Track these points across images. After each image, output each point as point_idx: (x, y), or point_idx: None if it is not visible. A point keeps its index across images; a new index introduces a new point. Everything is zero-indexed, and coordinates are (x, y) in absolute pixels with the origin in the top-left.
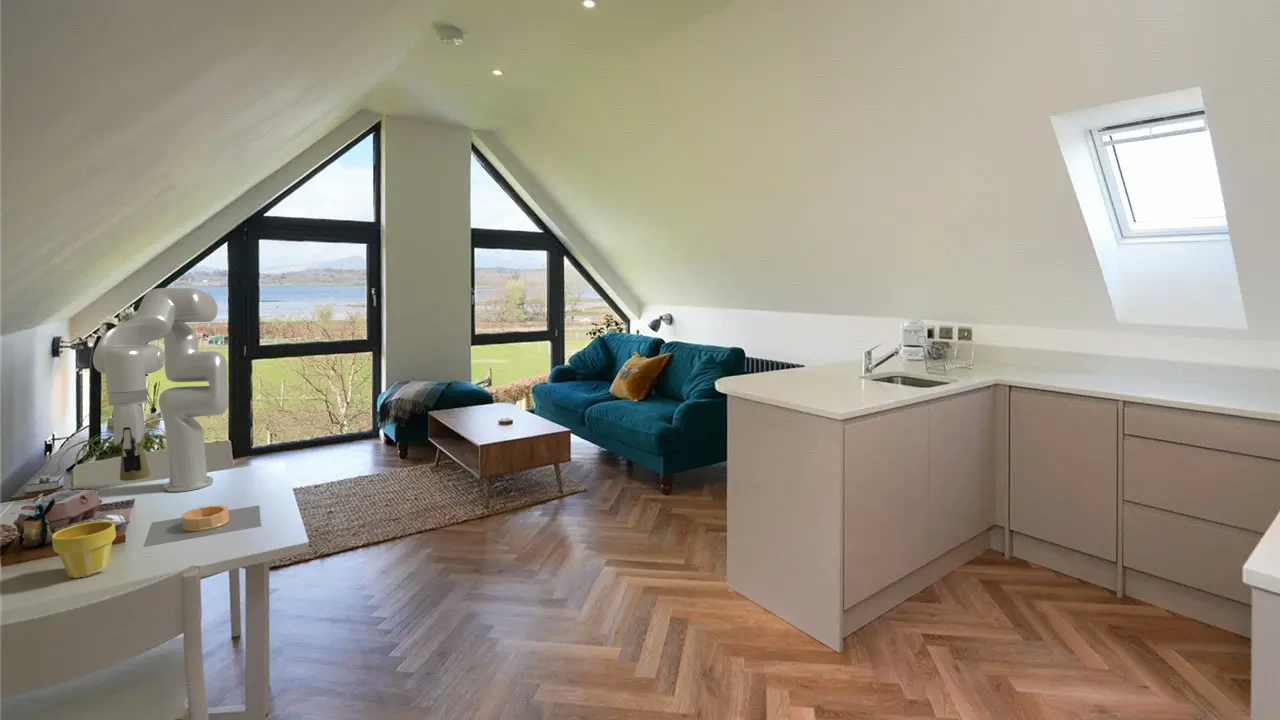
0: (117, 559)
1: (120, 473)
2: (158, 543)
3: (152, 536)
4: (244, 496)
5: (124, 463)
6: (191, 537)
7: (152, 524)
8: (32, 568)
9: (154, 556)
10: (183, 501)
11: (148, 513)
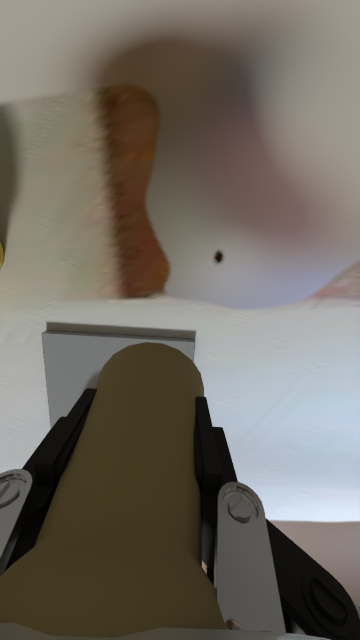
0: (20, 291)
1: (131, 359)
2: (48, 355)
3: (98, 345)
4: (276, 472)
5: (65, 422)
6: (53, 402)
7: (179, 343)
8: (46, 140)
9: (6, 346)
10: (328, 385)
11: (291, 330)
